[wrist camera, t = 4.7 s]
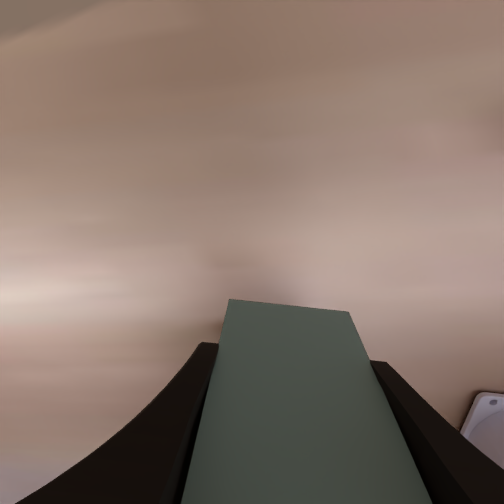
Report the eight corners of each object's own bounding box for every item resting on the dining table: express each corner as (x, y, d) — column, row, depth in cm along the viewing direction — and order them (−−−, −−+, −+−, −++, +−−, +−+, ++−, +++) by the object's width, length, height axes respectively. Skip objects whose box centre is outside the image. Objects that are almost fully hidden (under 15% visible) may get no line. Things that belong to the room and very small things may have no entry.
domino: (348, 311, 13) (534, 738, 4) (339, 350, 14) (479, 790, 5) (229, 299, 13) (137, 689, 4) (226, 338, 14) (141, 749, 5)
